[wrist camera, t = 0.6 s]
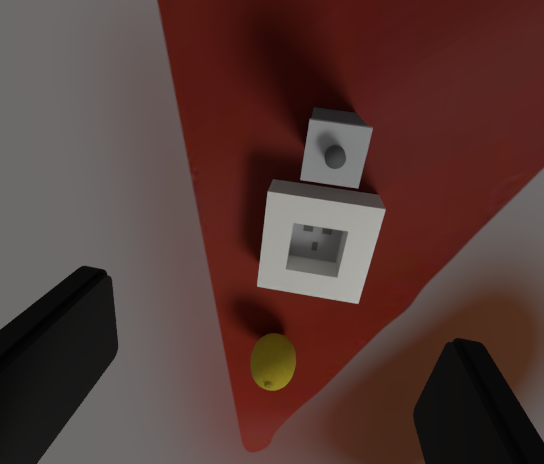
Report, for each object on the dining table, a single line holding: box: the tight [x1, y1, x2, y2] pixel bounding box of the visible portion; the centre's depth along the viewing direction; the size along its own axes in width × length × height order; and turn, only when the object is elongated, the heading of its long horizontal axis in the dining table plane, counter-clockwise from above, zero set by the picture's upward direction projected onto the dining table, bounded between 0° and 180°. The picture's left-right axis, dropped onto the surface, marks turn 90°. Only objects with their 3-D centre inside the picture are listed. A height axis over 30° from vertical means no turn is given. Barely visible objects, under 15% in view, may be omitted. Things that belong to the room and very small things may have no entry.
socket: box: [257, 179, 386, 304], centre depth 35 cm, size 11×11×4 cm
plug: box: [300, 107, 373, 188], centre depth 27 cm, size 4×4×11 cm
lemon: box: [251, 333, 296, 390], centre depth 40 cm, size 6×6×8 cm
